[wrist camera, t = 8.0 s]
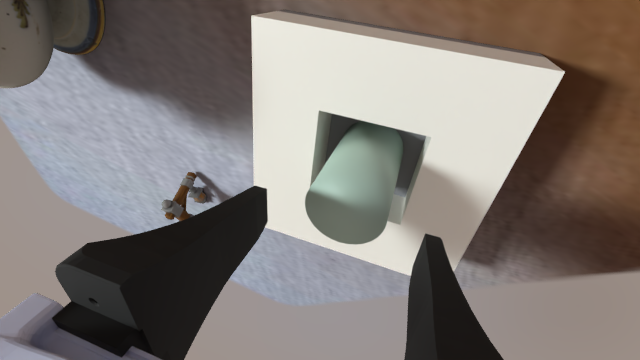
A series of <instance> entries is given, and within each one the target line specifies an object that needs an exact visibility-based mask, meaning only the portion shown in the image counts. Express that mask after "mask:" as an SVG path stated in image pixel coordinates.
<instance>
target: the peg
mask: <svg viewBox="0 0 640 360" xmlns="http://www.w3.org/2000/svg"><path fill="white" fill-rule="evenodd" d="M403 151H404V147H403V141H402V139H401V136H400V135H399V133H398V132H397V131H396V129H395V128H391V127H387V126H382V125H378V124H374V123H370V122H366V121H359V122H356V123H355V124H353V125H352V126H351V127H350V128H349V129H348V130H347V131H346V133H345V134H344V136H343V138H342V139H341V141H340V142H339V144H338V145H337V147H336V148H335V150H334V151H333V153H332V154H331V156H330V158H329V159H328V161H327V162H326V164H325V165H324V167H323V168H322V170H321V171H320V173H319V175H318V176H317V178H316V179H315V181H314V182H313V184H312V185H311V187H310V188H309V190H308V192H307V194H306V198H305V208H306V212H307V215H308V217H309V219H310V221H311V222H312V224H313V225H314V226H315V227H316V228H317V229H318V230H319V231H320V232H321V233H322V234H324V235H325V236H327V237H329V238H330V239H332V240H335V241H337V242H340V243H345V244H354V245H356V244H364V243H368V242H370V241H373V240H374V239H376V238H377V237H379V236H380V235H381V234H382V232H383V231H384V229H385V227H386V224H387V220H388V216H389V212H390V208H391V203H392V199H393V195H394V191H395V186H396V182H397V178H398V173H399V169H400V165H401V161H402V156H403Z"/></svg>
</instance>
